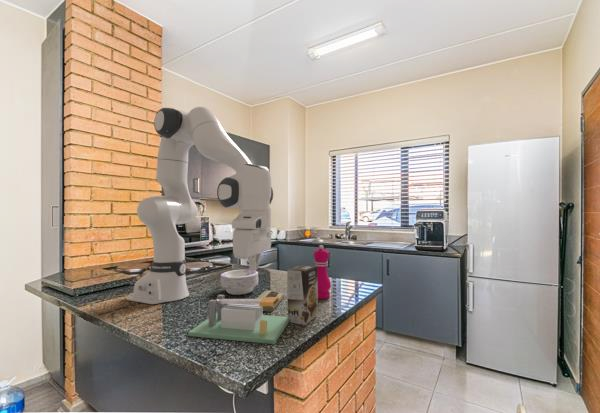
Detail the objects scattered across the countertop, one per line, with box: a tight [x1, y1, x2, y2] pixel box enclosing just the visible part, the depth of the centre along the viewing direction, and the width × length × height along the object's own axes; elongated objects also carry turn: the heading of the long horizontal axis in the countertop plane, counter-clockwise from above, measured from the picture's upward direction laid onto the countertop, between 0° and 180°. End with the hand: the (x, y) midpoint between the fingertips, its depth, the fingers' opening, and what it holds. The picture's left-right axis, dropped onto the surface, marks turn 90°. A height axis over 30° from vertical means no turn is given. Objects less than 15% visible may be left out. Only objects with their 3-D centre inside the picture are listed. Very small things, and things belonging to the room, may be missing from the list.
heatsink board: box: [187, 294, 290, 345], centre depth 82 cm, size 24×16×8 cm, turn 78°
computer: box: [255, 290, 285, 313], centre depth 104 cm, size 16×8×3 cm, turn 169°
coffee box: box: [286, 264, 319, 326], centre depth 89 cm, size 9×6×16 cm
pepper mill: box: [313, 244, 332, 300], centre depth 112 cm, size 7×7×20 cm
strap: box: [215, 297, 279, 306], centre depth 82 cm, size 19×5×1 cm, turn 78°
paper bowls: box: [220, 269, 259, 296], centre depth 119 cm, size 15×15×8 cm
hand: (254, 269), depth 82 cm, fingers closed
